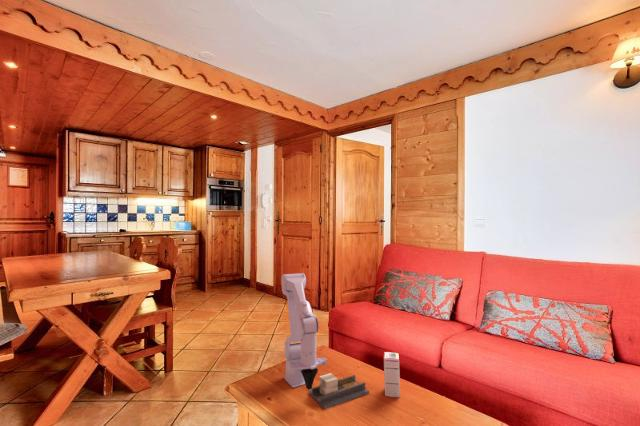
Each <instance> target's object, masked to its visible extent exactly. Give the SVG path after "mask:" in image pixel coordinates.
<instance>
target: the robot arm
mask: <svg viewBox="0 0 640 426" xmlns="http://www.w3.org/2000/svg"><path fill="white" fill-rule="evenodd" d="M306 285H307V278H306V275H305V273H304V272H301V273H300V272H299V273H286V274H285V273H283V274H282V276H281V292H282V294H283V295H284V296H286V299H287V308H288V320H289V331H290V335H289V336H288V337H287V338H286V339H285V342H284V357H285V360H286V361H285V376H284V375H283V378H284V380H285V381H286V383H288V384H289V385H290V386H291V388H297V387H301V386H304V385H305V388H306V389H307V390H308V391H309V390H311V389H312V388H313V384H314V380H315V378H316V376H317V375H318V372H319V370H318V368H317V367H318V366H323V365H324V366H326V365H327V364H328V358H326V357H325V356H324V357H317V333H318V332H319V327H320V326H319V320H318V317H317V316H316V314H314V313H313V310H312V307H311V303H310V302H309V301H308V300H306V295H305V287H306Z"/></svg>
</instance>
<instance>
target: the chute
mask: <svg viewBox="0 0 640 426" xmlns="http://www.w3.org/2000/svg"><path fill="white" fill-rule="evenodd" d="M308 394H309V396H311V397H312V399H314V401H316V402H317V404H318V405H319V407H321V408H322V409H324V410H326V409H330V408H333V407H335V406H338V405H341V404H344V403H346V402H349V401H352V400H355V399H358V398H360V397H363V396H364V397H365V396H367V395H369V394H370V390H369V389H367V388H366V382H360V383H359V382H358V381H357V380H356V375H355V374H352V375H349V376H346V377H342V378H338V391H335V392H332V393H329V394H326V395H322V394H321V393H320V384H319V385H316V386H314V387H313V386H312V389H310V390H308Z"/></svg>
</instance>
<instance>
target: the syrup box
mask: <svg viewBox="0 0 640 426" xmlns="http://www.w3.org/2000/svg"><path fill="white" fill-rule="evenodd" d="M383 353H384V354H383V369H384V370H383V372H384V373H383V374H384V375H383V377H384V378H383V379H384V396H385V397H389V398H390V397H391V398H400V397H401V381H400V380H401V378H400V377H401V375H400V374H401V373H400V371H401V370H400V358H399V357H400V356H399V353H398V352H393V351H391V352H390V351H386V352H385V351H384V352H383Z"/></svg>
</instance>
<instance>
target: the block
mask: <svg viewBox="0 0 640 426" xmlns="http://www.w3.org/2000/svg"><path fill="white" fill-rule="evenodd" d="M338 380H339V378H338V377H336V375H334V374H333V373H331V372H330V373H327V374H323V375H319V385H320V393H321V394H322V395H326V394H329V393H332V392H335V391H338Z"/></svg>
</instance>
